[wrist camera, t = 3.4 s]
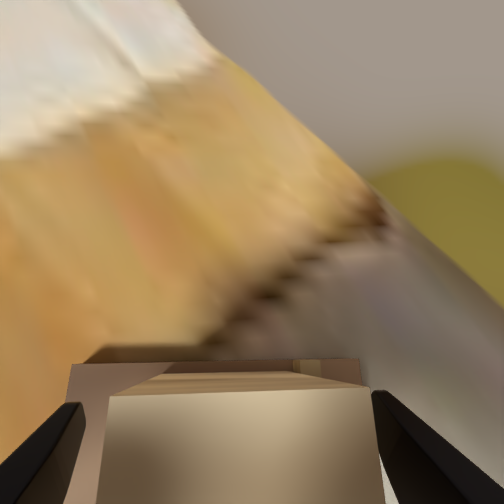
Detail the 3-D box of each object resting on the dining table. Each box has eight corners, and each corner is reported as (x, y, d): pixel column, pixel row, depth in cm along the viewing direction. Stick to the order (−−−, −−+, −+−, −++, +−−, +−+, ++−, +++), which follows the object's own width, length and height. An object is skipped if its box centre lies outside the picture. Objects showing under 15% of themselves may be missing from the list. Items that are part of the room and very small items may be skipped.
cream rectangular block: (290, 465, 13) (400, 608, 6) (123, 478, 12) (-5, 671, 5) (285, 370, 15) (370, 387, 7) (134, 374, 14) (48, 398, 6)
